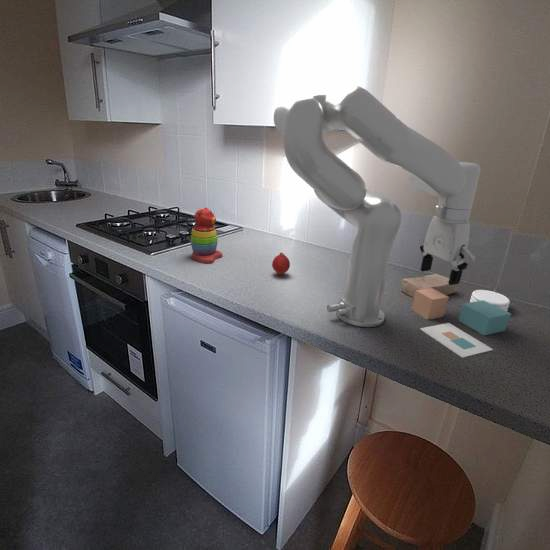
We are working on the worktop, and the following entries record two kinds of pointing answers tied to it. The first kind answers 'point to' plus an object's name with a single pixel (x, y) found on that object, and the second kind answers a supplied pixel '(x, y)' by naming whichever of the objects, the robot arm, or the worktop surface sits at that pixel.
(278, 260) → the onion
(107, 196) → the worktop surface
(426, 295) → the clay block
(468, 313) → the base block
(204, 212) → the stacking bear
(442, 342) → the page
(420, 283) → the brick
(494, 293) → the coaster
